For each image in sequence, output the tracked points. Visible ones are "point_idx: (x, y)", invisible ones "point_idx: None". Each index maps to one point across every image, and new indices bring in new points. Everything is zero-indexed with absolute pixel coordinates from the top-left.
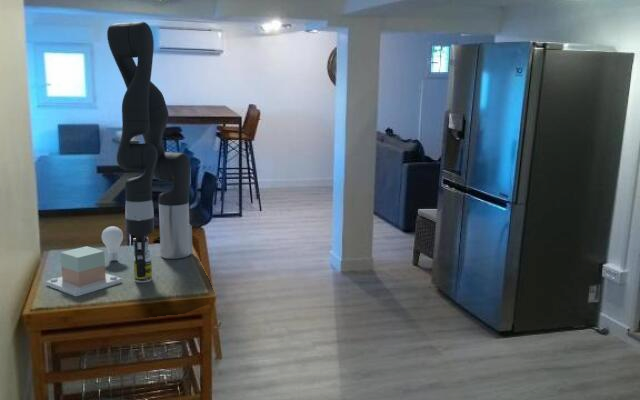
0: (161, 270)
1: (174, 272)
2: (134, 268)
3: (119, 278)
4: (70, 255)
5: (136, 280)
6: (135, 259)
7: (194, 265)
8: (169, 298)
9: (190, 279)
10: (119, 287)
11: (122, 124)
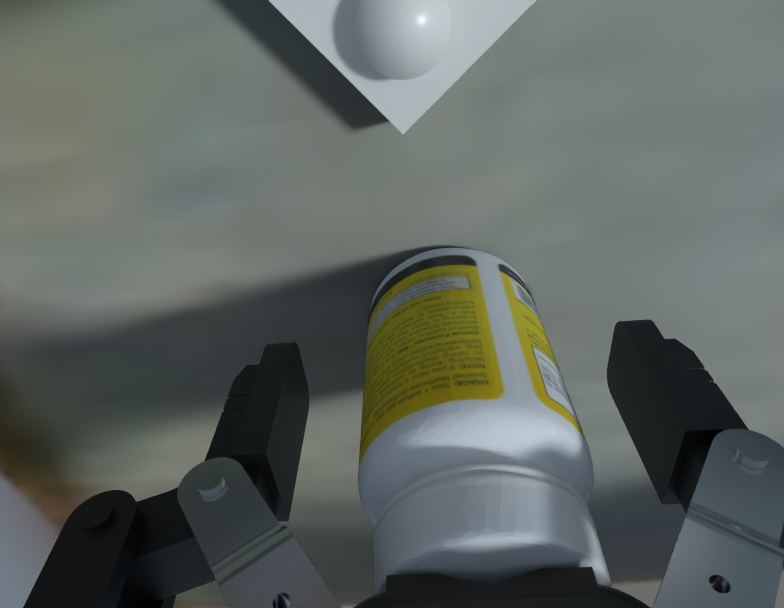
0: None
1: (604, 487)
2: (426, 335)
3: (404, 107)
4: None
5: (390, 276)
6: (48, 568)
7: None
8: (38, 490)
9: None
10: (237, 118)
11: None
